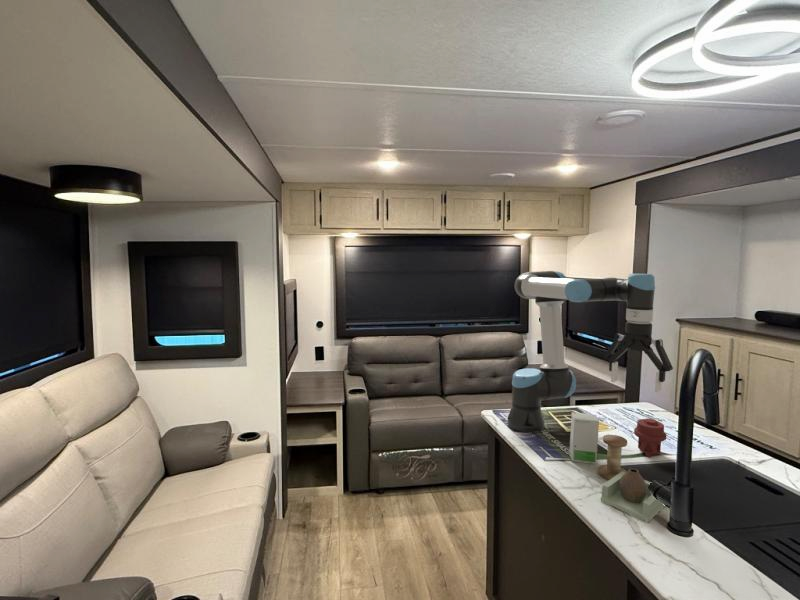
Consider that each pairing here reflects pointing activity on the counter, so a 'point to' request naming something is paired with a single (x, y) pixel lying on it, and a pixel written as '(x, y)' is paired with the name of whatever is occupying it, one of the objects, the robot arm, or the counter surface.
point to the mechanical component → (650, 436)
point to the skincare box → (584, 438)
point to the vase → (633, 486)
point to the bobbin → (612, 457)
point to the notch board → (639, 510)
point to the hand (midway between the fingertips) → (635, 386)
